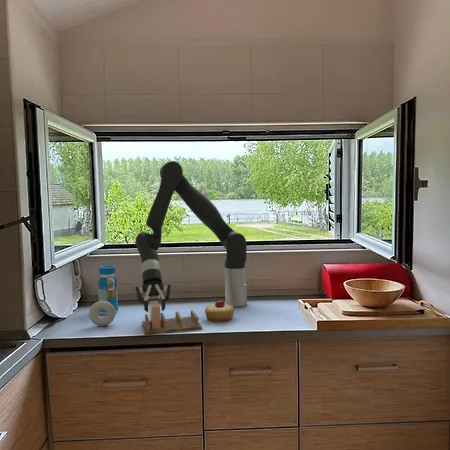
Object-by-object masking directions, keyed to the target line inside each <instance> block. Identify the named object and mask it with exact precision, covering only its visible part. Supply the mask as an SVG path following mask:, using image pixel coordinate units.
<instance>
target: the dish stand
mask: <svg viewBox="0 0 450 450" xmlns="http://www.w3.org/2000/svg"><path fill="white" fill-rule="evenodd" d="M141 324H142V328H143V333H144V336H153V335H163V334H164V335H165V334H172V333H182V332H184V333H185V332H192V331H202V330H203V325H202V324H201V323H200V321H199V316H198V315H197V313H196V312H195V311H194V310H193V309H191V310H190V316H184V317H183V316H182V315H181V314H180V313H179V311H175V317H172V318H171V317H170V318H166V317H165V314H164V312H160V325H161V328H154V329H152V326H151V323H150V317H149V315H148V314H147V313H146V314H144V320H142V321H141Z"/></svg>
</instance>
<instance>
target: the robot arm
mask: <svg viewBox="0 0 450 450" xmlns="http://www.w3.org/2000/svg"><path fill="white" fill-rule="evenodd" d="M159 175H160V178H161V179H160V185H159V188H158V191H157V193H156V196H155V198H154V200H153V203H152V204H151V207H150V210H149V213H148V216H147V218H146V221H145V222H146V223H145V226H146V227H148V228H149V229H151V230H152V233H149V232H145V231H141V232H139V233H138V234H137V236H136V237H135V247H136V249H137V251H138V253H139V256H140V259H141V278H142V286H141V287H139V286H136V287H135V289H134V290H135V296H136V298H137V300H138V303H139V304H143V310H144V312H146V313H149V303H148V301H149V298H150V297H157V298H158V299H159V300H160V309H161V311H162V312H164V311H165V310H166V302H167V301H168V302H169V301H170V294H171V284H167V285H164V283H163V280H162V279H163V278H162V271H161V265H160V257H159V254H158V252H157V251H158V250H159V249H160V247H161V245H162V230H163V225H164V222H165V219H166V216H167V213H168V211H169V206H170V203H171V200H172V198H173V195H174V192H175V193H177V194H178V197H180V198H181V200H182V201H183V203H184V204H185V205H186V206H187V207H188V208H189V210H190V211H191V212H192V213H193V214H194V215H195V217H196V218H197V219H198V220H200V222H201V223H203V225H205V226H206V227H207V228H208V229H209V230H210V231H211V232H213V234H214V235H215V236H216V238H217V239H218V240H219V242H220V243H221V245H222V246H223V247H224V248H225V250H226V259H225V261H224V291H225V293H224V295H225V297H224V298H225V299H224V302H225V304H227V305H231V306H233V307H234V308H237V307H238V308H239V307H240V308H241V307H244V306H248V294H247V293H248V290H247V289H248V286H247V284H246V263H247V240H246V237H245V236H244V235H243V234H242V233H240V232H236V231H235V230H234V229H233V228H232V227H231V226H230V225H229V224H228V223H227V222H226V221H225V220H224V218H223V216H222V215H221V213H220V211H219V209H218V208H217V207H216V206H215V205H214V203H213V202H212V201H211V200H210V199H209V198H208V197H207V196H206V194H204V193H203V192H202V191H200V189H198V188H196V187H195V186H194V185H193V184H192V183H190V181H189V180H188V179H187V178H186V177H185V175H184V169H183V167H182V165H181V164H180V163H179V162H178V161H176V160H170V161H169V160H168V161H167V162H166V163H164V164H162V166H161V167H160V169H159ZM163 290H164V291H165V292H166V295H165V296H164V294H163ZM142 291H143V292H144V293H145V294H144V295H145V296H144V298H143V297H142Z"/></svg>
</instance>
